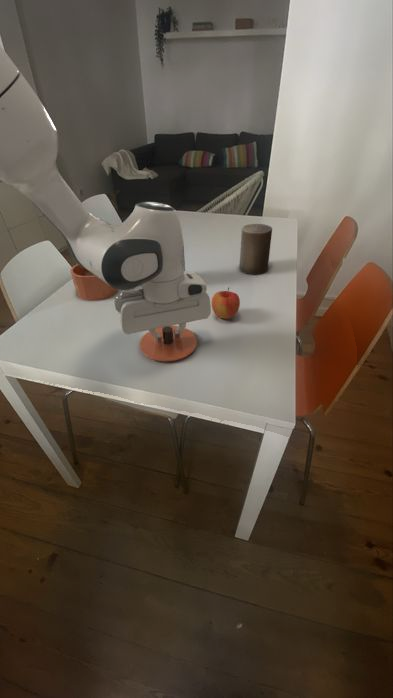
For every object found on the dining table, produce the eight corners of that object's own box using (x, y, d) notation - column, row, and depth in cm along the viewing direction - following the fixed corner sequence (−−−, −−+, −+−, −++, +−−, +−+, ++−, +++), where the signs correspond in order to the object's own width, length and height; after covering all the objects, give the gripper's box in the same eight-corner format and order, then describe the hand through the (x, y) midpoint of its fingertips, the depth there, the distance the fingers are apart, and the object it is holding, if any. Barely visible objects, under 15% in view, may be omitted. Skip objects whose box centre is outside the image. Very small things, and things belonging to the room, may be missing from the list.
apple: (207, 320, 84) (207, 293, 79) (217, 307, 89) (217, 281, 84) (233, 326, 81) (235, 299, 76) (242, 312, 86) (244, 286, 81)
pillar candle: (271, 273, 105) (277, 227, 96) (243, 276, 104) (246, 229, 95) (262, 262, 113) (267, 218, 104) (235, 264, 112) (238, 220, 103)
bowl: (77, 303, 92) (71, 279, 87) (76, 285, 101) (70, 263, 97) (120, 296, 95) (116, 272, 90) (115, 279, 104) (111, 257, 100)
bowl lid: (146, 369, 69) (144, 352, 66) (135, 335, 79) (133, 319, 76) (204, 355, 72) (204, 339, 69) (187, 325, 82) (186, 309, 79)
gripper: (114, 301, 61) (125, 357, 70) (213, 284, 66) (212, 338, 75) (110, 287, 66) (121, 341, 74) (203, 272, 71) (203, 324, 79)
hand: (168, 339), depth 74 cm, fingers open, 3 cm apart
